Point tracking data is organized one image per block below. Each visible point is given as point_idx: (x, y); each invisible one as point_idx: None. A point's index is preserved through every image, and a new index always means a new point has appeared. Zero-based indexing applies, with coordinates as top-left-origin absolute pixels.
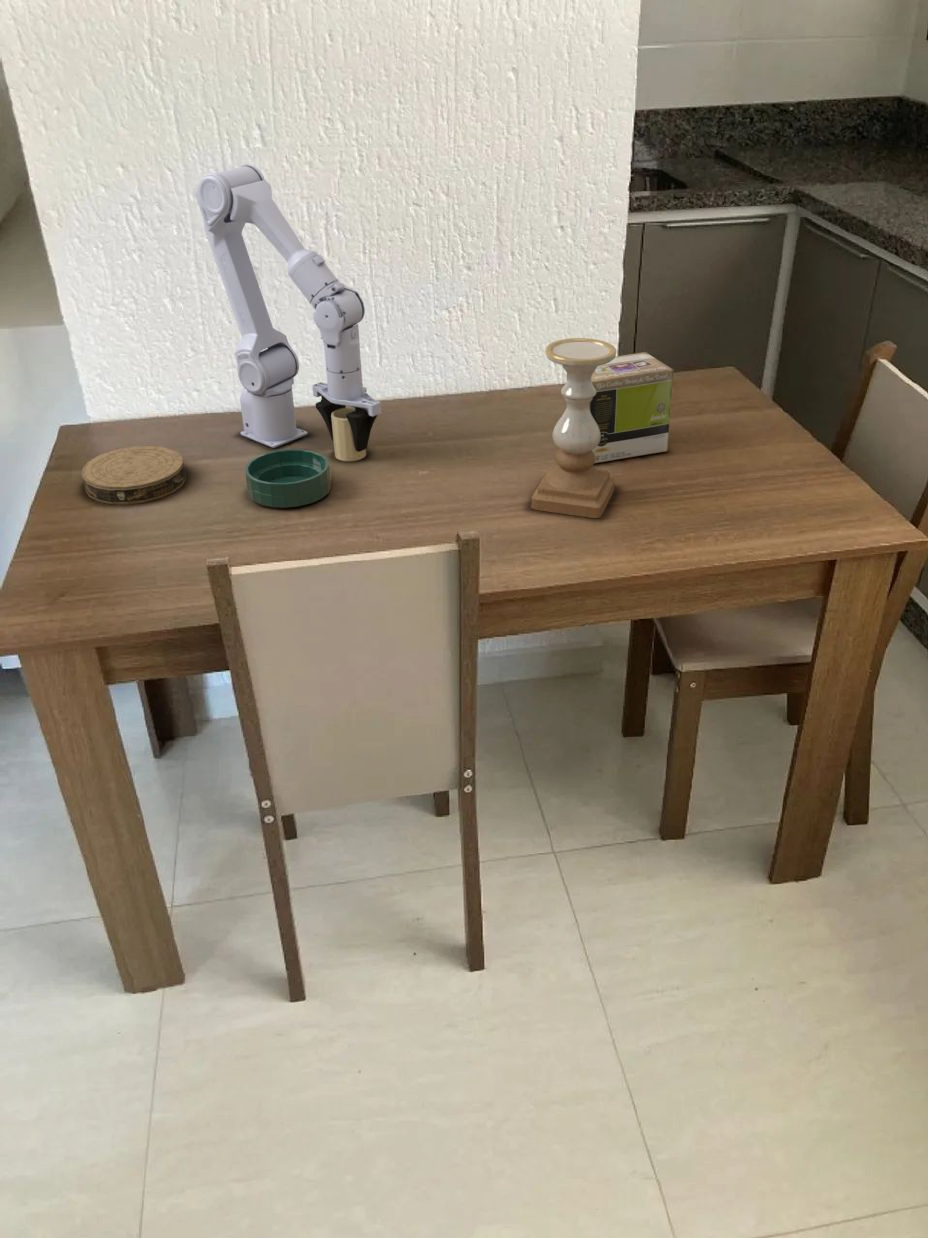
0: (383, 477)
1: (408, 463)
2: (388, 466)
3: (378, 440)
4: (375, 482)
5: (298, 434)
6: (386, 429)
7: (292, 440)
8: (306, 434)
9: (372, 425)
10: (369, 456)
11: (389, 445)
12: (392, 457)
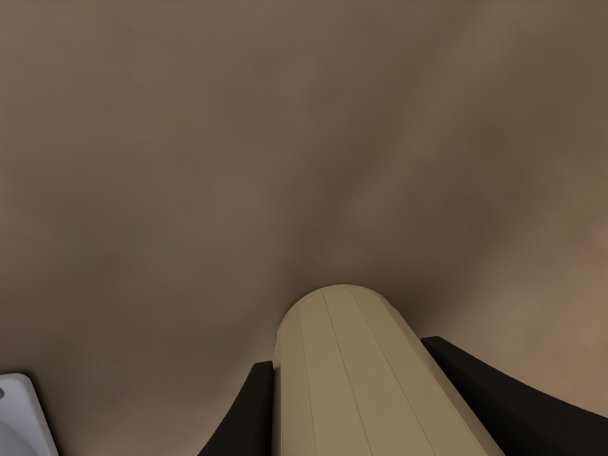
0: (581, 359)
1: (580, 218)
2: (533, 294)
3: (298, 162)
4: (584, 399)
5: (20, 421)
6: (206, 32)
7: (56, 450)
8: (31, 384)
9: (569, 406)
10: (407, 296)
11: (382, 160)
12: (487, 231)
